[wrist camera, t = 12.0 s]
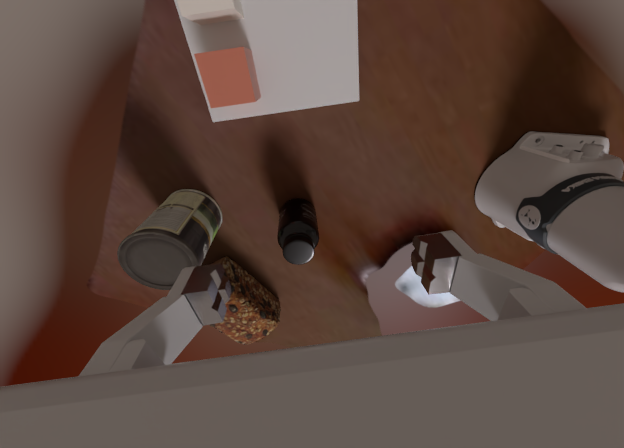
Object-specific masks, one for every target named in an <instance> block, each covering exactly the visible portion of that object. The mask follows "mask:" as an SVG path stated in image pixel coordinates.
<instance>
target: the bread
mask: <svg viewBox="0 0 624 448" xmlns="http://www.w3.org/2000/svg"><path fill="white" fill-rule="evenodd" d="M218 263H220V264H222V265H223V267H224V269H225V272H224V276H226V277H227V278H228V279H229V281H230V285H231V296H230V300H229V301H228V302H227V303H226V304H225V305H226V308H227V310H226V314H225V317H224V321H223V322H222V323H216V324H210V326H212V327H214V328H216V329H218V330H219V331H220V332H221V333H224V334H226V335H227V336H228V337H230V338H232V339H233V340H235V341H236V342H238V343H240V344H244V345H245V344H246V345H247V344H250V343H252V342H255V341H257V340H261V339H263V338H264V337H266V335H268V334H269V333H270V332H271V331H274V330H275V328H276V327H277V326H278V324H279V322H280V311H281V309H280V302H279V300H278V299H277V298H276V297H275V296H274V295H273V294H271V292H270V291H269V290H267V289H266V288H265V287H264V286H263V285H261V283H259V282H258V281H257V280H256V279H255V278H254V277H252V276H251V275H250V274H248V273H247V271H246V270H244V269H243V268H242V267H241V266H240V265H238V264H237V263H236V262H235V261H232V260H231V259H230V258H229V257H224V258H221V259H219V260H217V261H216V262H214V263H212V264H218Z"/></svg>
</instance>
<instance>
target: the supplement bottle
mask: <svg viewBox="0 0 624 448" xmlns="http://www.w3.org/2000/svg"><path fill="white" fill-rule="evenodd" d="M318 241H319V232H318V225H317V218H316V212H315V209H314V207H313V205H312V204H311V203H310V202H309V201H307V200H305V199H300V198H296V199H291V200H289V201H287V202H286V203H285V204H284V205H283V206H282V208H281V210H280V216H279V226H278V243H279V245H280V247H281V248H282V249H283V256H284V258H285V259H286V260H287V261H288V262H290V263H292V264H298V265H299V264H305V263H307V262H309V261H310V260H311V259H312V258H313V256H314V249H315V247H316V246H317V244H318Z"/></svg>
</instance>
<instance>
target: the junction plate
mask: <svg viewBox="0 0 624 448" xmlns="http://www.w3.org/2000/svg"><path fill="white" fill-rule="evenodd" d="M174 1H175V4H176V7H177V11H178V14H179V17H180V20H181V23H182V26H183V29H184V33H185V36H186V39H187V42H188V45H189V48H190V51H191V55H192V58H193V61H194V64H195V67H196V70H197V73H198V77H199V80H200V83H201V86H202V89H203V92H204V95H205V99H206V102H207V105H208V108H209V111H210V114H211V117H212V121H213V122H218V121H225V120H232V119H238V118H245V117H252V116H259V115H266V114H273V113H280V112H286V111H293V110H300V109H307V108H314V107H321V106H328V105H335V104H341V103H348V102H355V101H359V67H358V18H357V0H241V5H242V10H243V14H244V19H238V20H231V21H224V22H218V23H211V24H204V25H199V24H197V23H195V22H193V21H191V20H189V19H187V18H185V17H183V16H182V15H181V12H180V9H179V6H178V2H177V0H174ZM237 47H245V48H248V49H250V50H251V51H252V56H253V61H254V65H255V70H256V75H257V80H258V84H259V89H260V94H261V98H260V99H259V100H257V101H256V102H252V103H245V104H238V105H231V106H224V107H217V108H211V107H210V103H209V100H208V97H207V94H206V91H205V87H204V84H203V81H202V78H201V75H200V71H199V68H198V65H197V62H196V59H195V56H194V54H197V53H204V52H210V51H217V50H224V49H230V48H237Z"/></svg>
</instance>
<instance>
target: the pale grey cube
mask: <svg viewBox="0 0 624 448" xmlns="http://www.w3.org/2000/svg"><path fill="white" fill-rule="evenodd" d="M177 2H178V6H179V9H180V12H181V15H182V16H183V17H185V18H187V19H189V20H191V21H193V22H195V23H197V24H199V25H204V24H211V23H218V22H224V21H231V20H238V19H244V14H243V10H242V5H241V0H177Z"/></svg>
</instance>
